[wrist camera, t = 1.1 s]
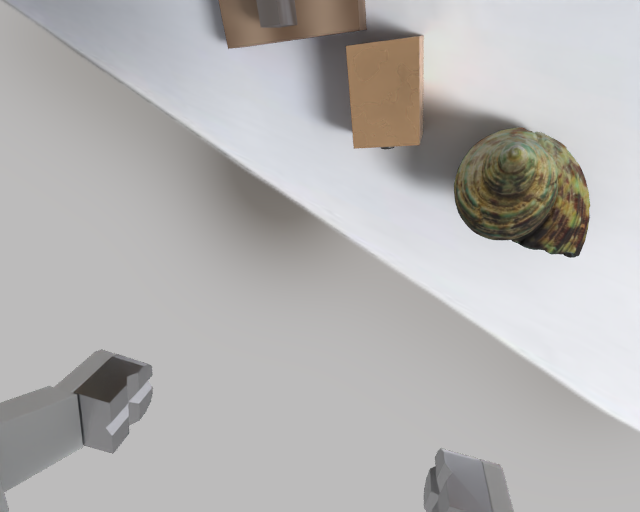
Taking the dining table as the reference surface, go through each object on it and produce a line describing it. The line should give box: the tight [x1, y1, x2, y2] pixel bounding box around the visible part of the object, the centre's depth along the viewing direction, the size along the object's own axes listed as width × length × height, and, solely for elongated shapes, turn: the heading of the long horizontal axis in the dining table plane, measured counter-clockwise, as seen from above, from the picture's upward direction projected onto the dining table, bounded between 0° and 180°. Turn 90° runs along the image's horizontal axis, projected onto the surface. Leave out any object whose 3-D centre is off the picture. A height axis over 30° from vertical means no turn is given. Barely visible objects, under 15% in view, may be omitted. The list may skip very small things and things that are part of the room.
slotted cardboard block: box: [346, 35, 424, 149], centre depth 34 cm, size 6×8×5 cm
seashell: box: [454, 128, 590, 257], centre depth 33 cm, size 11×11×10 cm
